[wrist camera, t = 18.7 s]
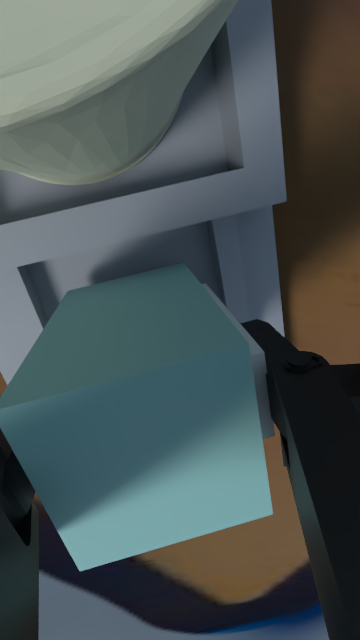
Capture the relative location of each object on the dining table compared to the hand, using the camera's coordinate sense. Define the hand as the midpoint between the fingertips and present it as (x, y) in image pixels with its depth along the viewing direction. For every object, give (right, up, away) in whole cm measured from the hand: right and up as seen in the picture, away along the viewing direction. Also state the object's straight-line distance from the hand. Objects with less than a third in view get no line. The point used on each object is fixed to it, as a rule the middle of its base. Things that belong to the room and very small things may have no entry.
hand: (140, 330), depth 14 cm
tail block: (0, 0, 0) cm, 0 cm away
